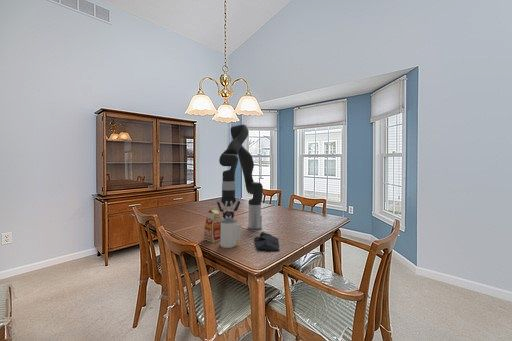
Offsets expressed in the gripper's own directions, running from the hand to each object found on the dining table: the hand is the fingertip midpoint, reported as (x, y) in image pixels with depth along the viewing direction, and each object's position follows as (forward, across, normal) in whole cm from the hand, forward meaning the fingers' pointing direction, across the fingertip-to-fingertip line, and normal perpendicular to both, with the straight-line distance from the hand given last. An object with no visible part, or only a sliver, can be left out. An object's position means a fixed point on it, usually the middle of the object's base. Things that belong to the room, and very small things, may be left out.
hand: (228, 218), depth 139 cm
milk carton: (+16, +8, -12) cm, 22 cm away
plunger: (+12, 0, 0) cm, 12 cm away
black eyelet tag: (+16, -22, +3) cm, 28 cm away
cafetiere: (+16, -1, 0) cm, 16 cm away
